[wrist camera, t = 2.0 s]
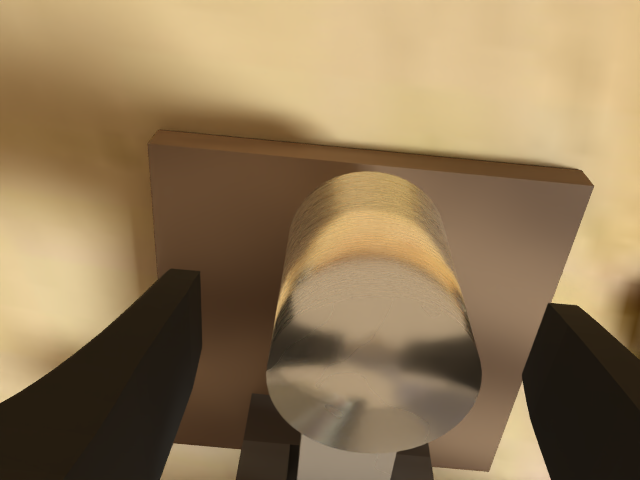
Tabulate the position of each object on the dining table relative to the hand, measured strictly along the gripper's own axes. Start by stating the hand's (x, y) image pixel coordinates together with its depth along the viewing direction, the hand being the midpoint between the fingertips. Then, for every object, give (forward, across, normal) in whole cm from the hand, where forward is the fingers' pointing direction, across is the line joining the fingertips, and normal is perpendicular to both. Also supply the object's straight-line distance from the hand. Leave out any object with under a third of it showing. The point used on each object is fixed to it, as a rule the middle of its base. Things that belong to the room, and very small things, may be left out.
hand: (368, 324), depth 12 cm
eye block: (+6, 0, +6) cm, 8 cm away
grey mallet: (+3, 0, +5) cm, 6 cm away
